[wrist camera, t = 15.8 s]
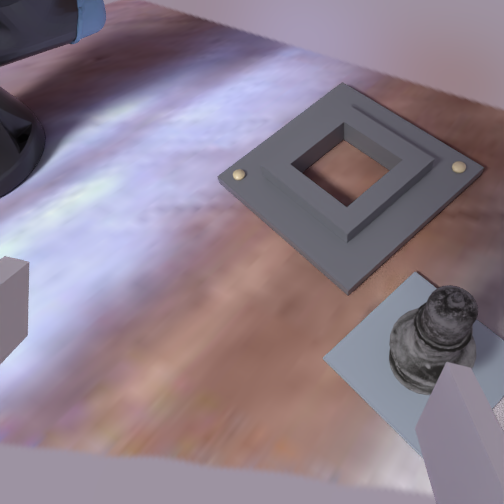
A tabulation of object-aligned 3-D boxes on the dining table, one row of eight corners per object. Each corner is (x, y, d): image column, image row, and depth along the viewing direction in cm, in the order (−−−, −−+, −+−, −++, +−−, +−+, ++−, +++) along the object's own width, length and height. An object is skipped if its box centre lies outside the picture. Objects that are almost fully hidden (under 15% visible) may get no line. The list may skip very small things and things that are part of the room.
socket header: (219, 182, 49) (214, 166, 47) (342, 89, 54) (342, 71, 52) (348, 295, 41) (349, 282, 39) (481, 174, 45) (488, 156, 43)
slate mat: (323, 359, 39) (323, 357, 38) (414, 273, 41) (415, 271, 41) (435, 470, 33) (436, 470, 33) (531, 365, 36) (533, 363, 36)
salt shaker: (419, 310, 39) (450, 231, 29) (481, 362, 36) (539, 296, 26) (368, 358, 38) (382, 293, 27) (429, 416, 35) (469, 367, 25)
